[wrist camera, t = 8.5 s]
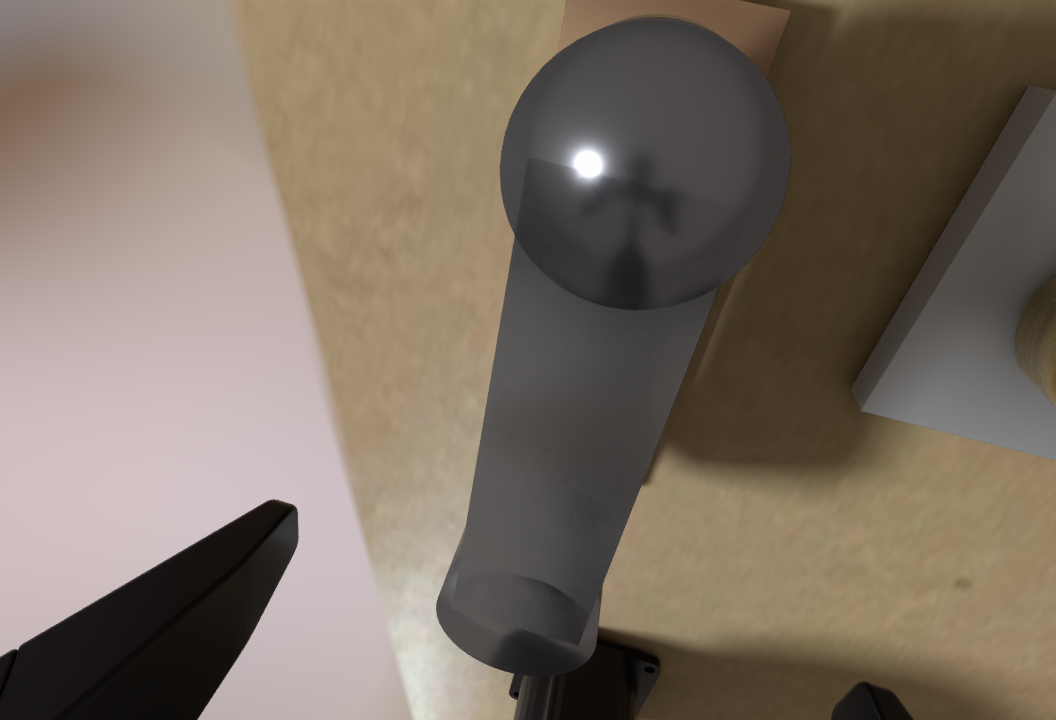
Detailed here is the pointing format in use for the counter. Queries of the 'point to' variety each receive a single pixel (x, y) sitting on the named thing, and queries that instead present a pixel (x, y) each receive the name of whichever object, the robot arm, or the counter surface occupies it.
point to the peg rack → (707, 3)
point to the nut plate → (978, 301)
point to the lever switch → (1039, 340)
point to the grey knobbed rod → (603, 314)
